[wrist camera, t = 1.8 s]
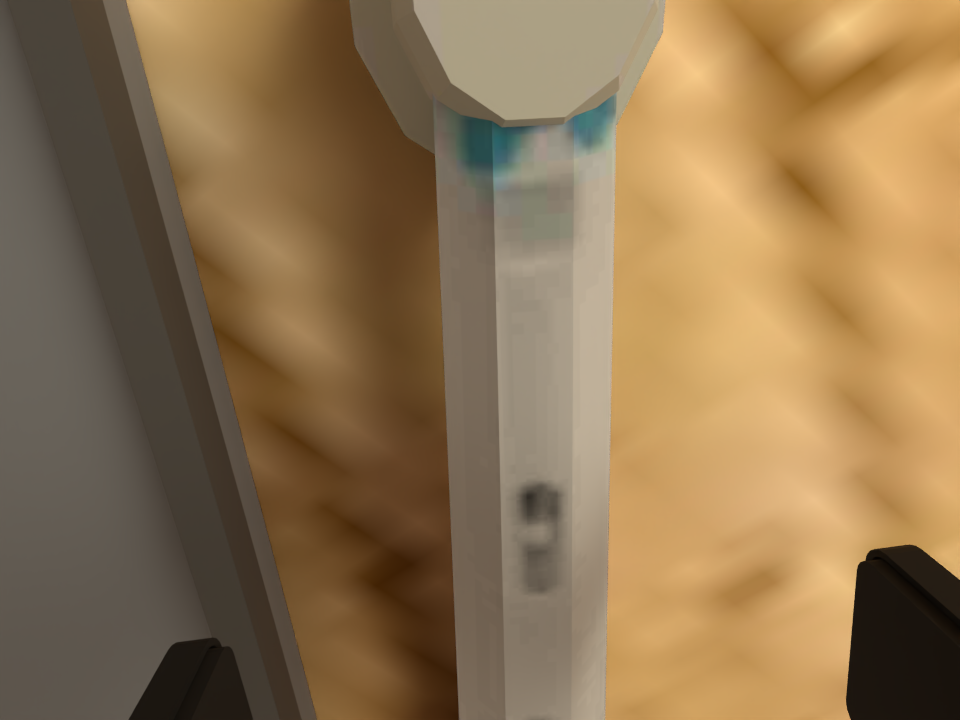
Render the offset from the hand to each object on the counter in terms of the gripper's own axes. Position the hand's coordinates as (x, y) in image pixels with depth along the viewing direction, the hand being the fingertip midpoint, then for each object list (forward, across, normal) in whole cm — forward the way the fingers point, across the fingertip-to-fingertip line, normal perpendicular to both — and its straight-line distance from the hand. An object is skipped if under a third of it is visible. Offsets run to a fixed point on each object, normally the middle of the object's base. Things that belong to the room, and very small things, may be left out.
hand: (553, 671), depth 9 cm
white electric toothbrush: (+8, 0, -1) cm, 8 cm away
